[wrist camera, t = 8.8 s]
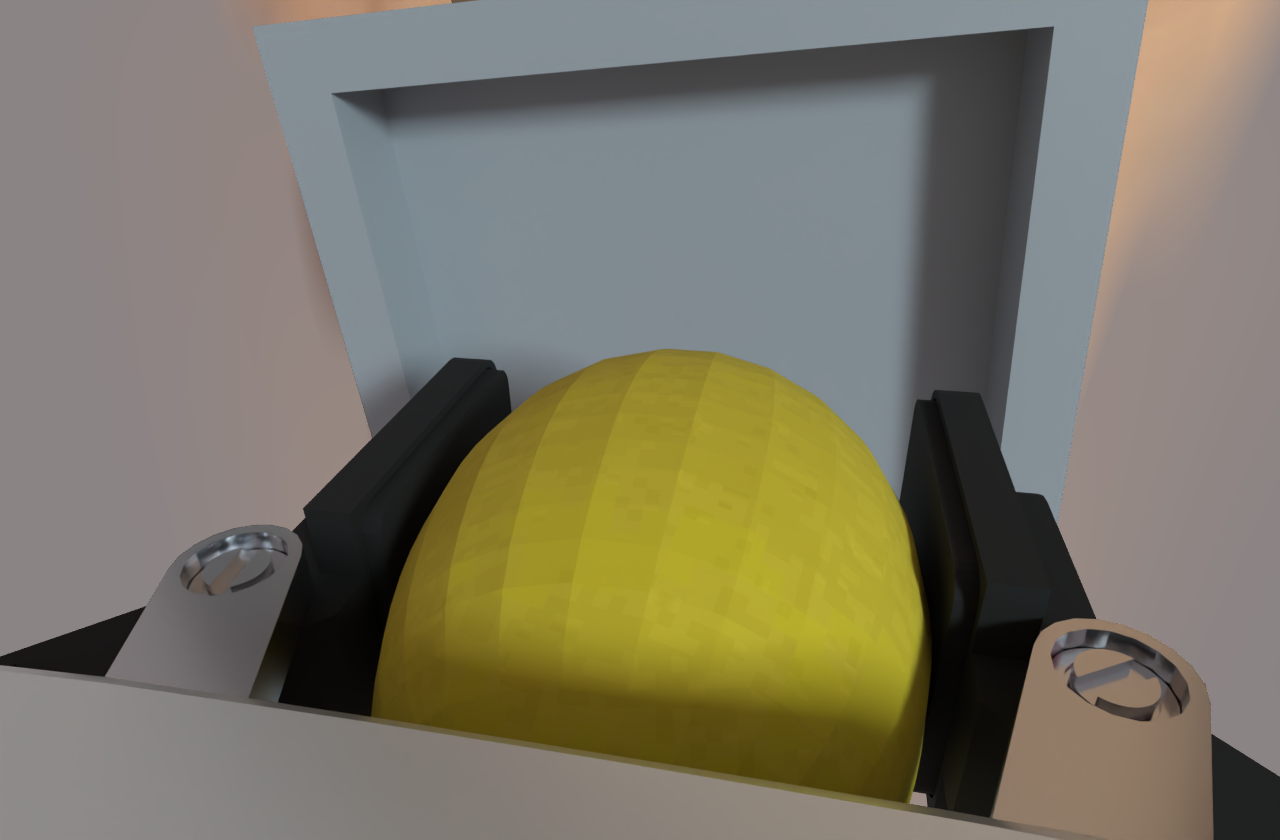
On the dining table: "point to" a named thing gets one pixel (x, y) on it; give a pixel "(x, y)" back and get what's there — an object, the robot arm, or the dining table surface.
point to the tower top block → (722, 195)
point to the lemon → (672, 583)
